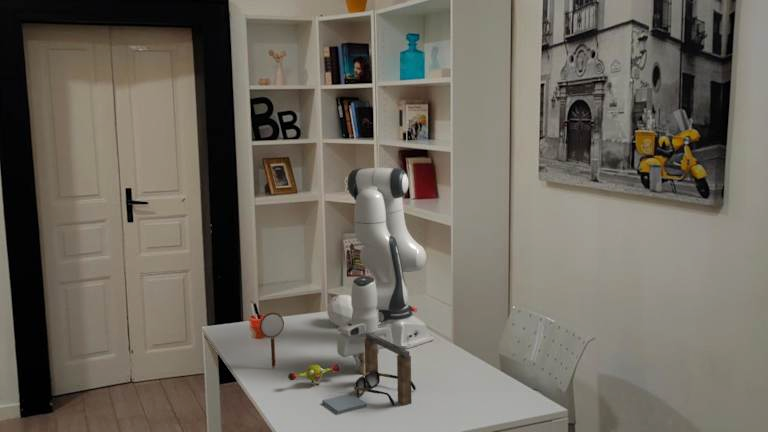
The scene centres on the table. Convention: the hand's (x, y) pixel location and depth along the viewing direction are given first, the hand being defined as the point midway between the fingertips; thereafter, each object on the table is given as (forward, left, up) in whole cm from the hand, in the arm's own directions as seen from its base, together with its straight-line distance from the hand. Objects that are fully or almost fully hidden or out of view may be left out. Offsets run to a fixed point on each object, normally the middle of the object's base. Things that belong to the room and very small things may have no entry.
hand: (365, 363), depth 257 cm
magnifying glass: (+25, -21, -3) cm, 33 cm away
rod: (+4, +20, +12) cm, 24 cm away
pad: (+20, +21, -3) cm, 29 cm away
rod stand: (+4, +20, -3) cm, 21 cm away
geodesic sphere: (-20, -52, -3) cm, 56 cm away
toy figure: (+20, +1, -3) cm, 20 cm away
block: (0, 0, -3) cm, 3 cm away
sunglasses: (+6, +21, -3) cm, 22 cm away
